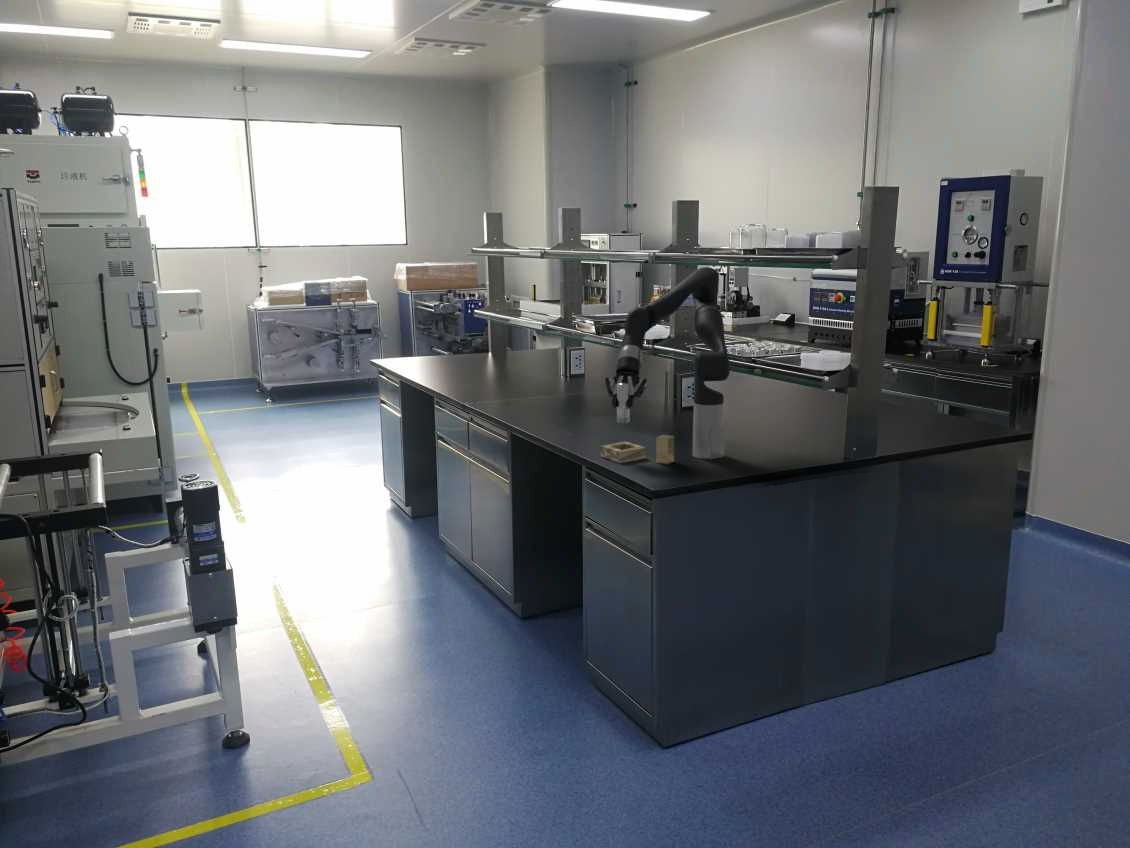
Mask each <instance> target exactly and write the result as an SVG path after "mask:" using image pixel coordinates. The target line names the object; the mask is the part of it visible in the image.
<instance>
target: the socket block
mask: <svg viewBox="0 0 1130 848" xmlns="http://www.w3.org/2000/svg"><path fill="white" fill-rule="evenodd" d="M600 457H601V458H603V457H604V459H607V460H610V461H613V462H616V463H619V464H623V463H628V462H633V461H637V460H642V459H646V447H645V446H643V445H639V444H636V443H632V442H628V441H627V440H626V441H625V440H624V441H620V442H614V443H610V444H609V443H608V444H604V445H600Z"/></svg>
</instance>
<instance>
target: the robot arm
mask: <svg viewBox="0 0 1130 848" xmlns="http://www.w3.org/2000/svg"><path fill="white" fill-rule="evenodd" d="M719 284H720V275H719V272H718V271H717V269H715V268H712V267H710V266H709V267H706V266H705V267H700V268H698V269H696V270H695V271H693V272H692V273H690V274H689V275H688V276H687V277H686V278H685V279H683V280H682V281H681V282H679V283H678V284H677V285H676V286H675V287H672V289H670V291H668V292H666V293H665V294H662V295H661V296H659V297H658V298H656V299H654V300H652V301H650V302H649V303H648V304H647V305H646V306H645V308H643V307H640V306H635V307H632V309H630V310H629V311H628V312H627V316H626V319H625V321H624V326H623V329H624V335H623V337H622V341H621V345H620V350H619V351H620V352H619V354H618V358H617V363H616V370H615V374H614V375H613V377H611V378H609V377H605V378H604V381H605V387H606V390H607V394H608V397H609V398H611V397H612V399H611V405H612V407H613V409H617V383H630V395H629V400H628V409H630V410H631V408H633V407H634V404H635V400H636V398H638V399H640V398H641V397H642V396H643V394H644V392H645V390H646V389H647V387H648V384H649V383H648V380H647V378H643V379H642V378H641V377H640V374H641V368H642V367H641V366H642V361H643V350H644V342H645V341H644V340H645V337H646V333H647V332H648V331H650V330H651V329H652V328H653V327H654V326H656V325H657V324H658V323H659V322H660V321H663V320H665V319H666V318H668V317H670V316H671V315H673V314H674V313H676V312H677V310H679V309H680V308H681V306H682V305H683V303H684V302H686V300H687V299H688V298H689V296H691V297H692V301H693V304H694V309H695V313H694V328H695V329H694V333H695V335H696V337H697V338H698V339H699V341H700V342H701V343H703V345H704V346H706V347H707V348H708V349H709V350H711V351H697V352H695V354H694V358H693V378H694V381H693V382H694V386H693V387H694V388H693V389H694V390H693V418H692V420H693V422H692V456H693V457H694V458H696V459H697V458H698V459H703V460H715V459H720V458H724V457H725V445H726V442H725V441H726V428H725V426H724V405H725V404H724V402H725V401H724V398H725V396H724V394H723V393H722V392H720V391H717V390H715V389H712V388H710V387H708V386H707V385H706V384H705V382H723V381H726V380H727V379H728V378H729V376H730V366H731V365H730V359H729V354H728V349H727V345H726V341H725V328H724V327H725V326H724V320H723V319H724V318H723V315H722V314H723V313H721V311H720V309H719V308H718V297H719ZM613 383H614V384H615V386H614V389H613V390H612V386H613ZM638 384H639V386H638V388H637V390H636V391H635V389H634V388H635V387H636V386H637V385H638Z"/></svg>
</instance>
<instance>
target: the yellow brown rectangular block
mask: <svg viewBox="0 0 1130 848" xmlns="http://www.w3.org/2000/svg"><path fill="white" fill-rule="evenodd" d="M655 445H656V446H655V447H656V449H655V450H656V451H655V452H656V454H655V455H656V456H655V463H658V464H664V465H670V464H672V463H673V462H675V459H674V458H675V436H674V435H668V434H667V435H666V434H661V435H659V436H656V444H655Z"/></svg>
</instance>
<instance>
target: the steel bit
mask: <svg viewBox="0 0 1130 848" xmlns="http://www.w3.org/2000/svg"><path fill="white" fill-rule="evenodd" d="M629 395H630V383H617V408H616V422H617V423H620V424H627V423H630V422H631V421H630V416H631V415H630V414H631V413H630V412H631V409H628V400H629Z"/></svg>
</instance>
